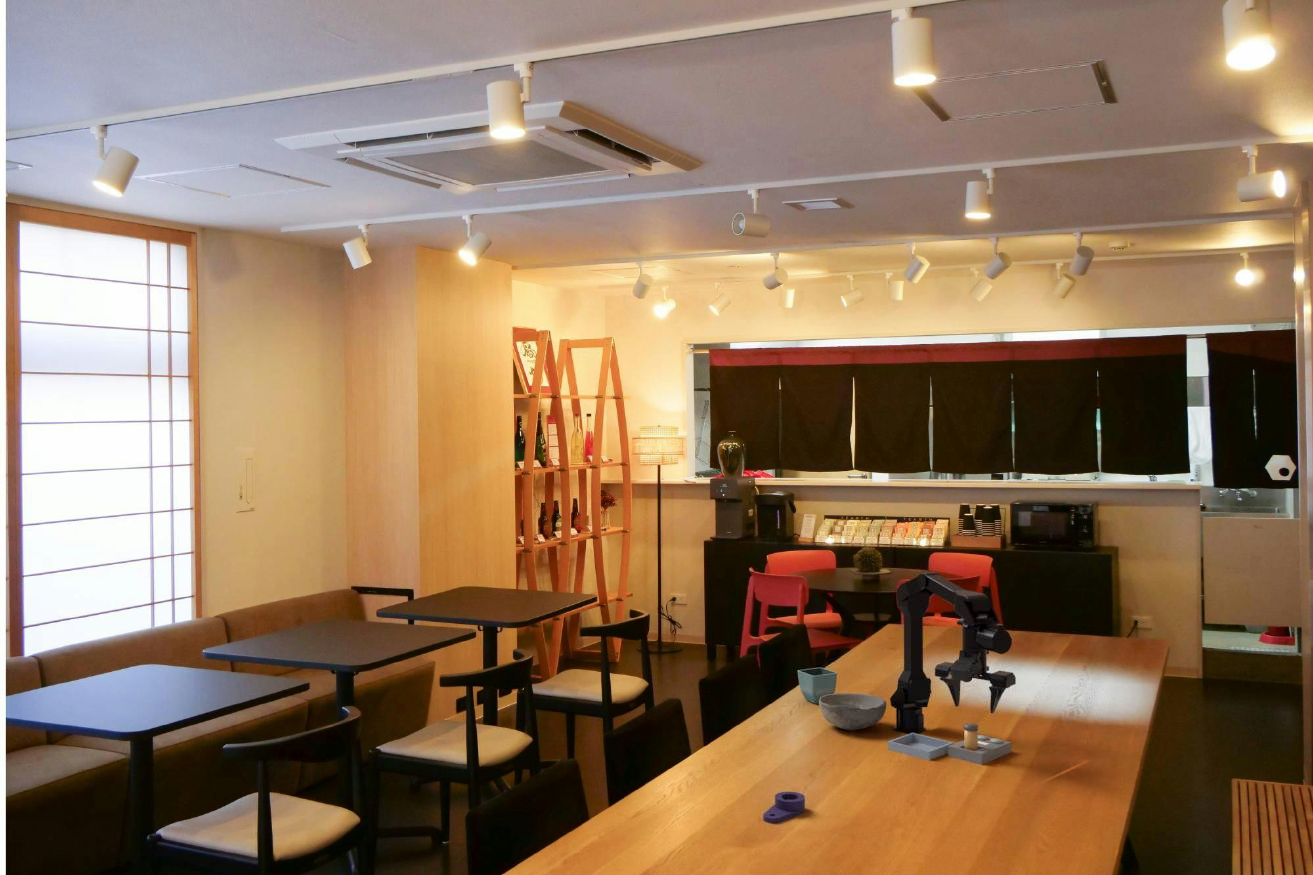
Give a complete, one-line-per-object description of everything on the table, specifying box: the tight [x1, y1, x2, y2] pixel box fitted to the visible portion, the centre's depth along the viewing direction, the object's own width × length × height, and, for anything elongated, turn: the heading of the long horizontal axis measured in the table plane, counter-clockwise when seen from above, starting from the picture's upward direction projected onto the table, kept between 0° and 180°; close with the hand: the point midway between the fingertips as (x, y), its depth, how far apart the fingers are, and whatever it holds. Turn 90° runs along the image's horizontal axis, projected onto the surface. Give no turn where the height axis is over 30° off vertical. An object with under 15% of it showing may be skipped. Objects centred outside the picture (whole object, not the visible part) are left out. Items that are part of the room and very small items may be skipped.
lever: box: [762, 791, 806, 824], centre depth 223 cm, size 12×6×3 cm, turn 142°
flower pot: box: [797, 667, 838, 705], centre depth 315 cm, size 9×9×9 cm
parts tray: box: [887, 733, 955, 761], centre depth 265 cm, size 12×11×2 cm
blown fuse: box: [963, 722, 979, 751], centre depth 259 cm, size 3×3×8 cm
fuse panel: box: [947, 734, 1012, 766], centre depth 261 cm, size 9×14×4 cm, turn 133°
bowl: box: [818, 692, 887, 731], centre depth 287 cm, size 18×18×8 cm
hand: (974, 709), depth 259 cm, fingers open, 9 cm apart
